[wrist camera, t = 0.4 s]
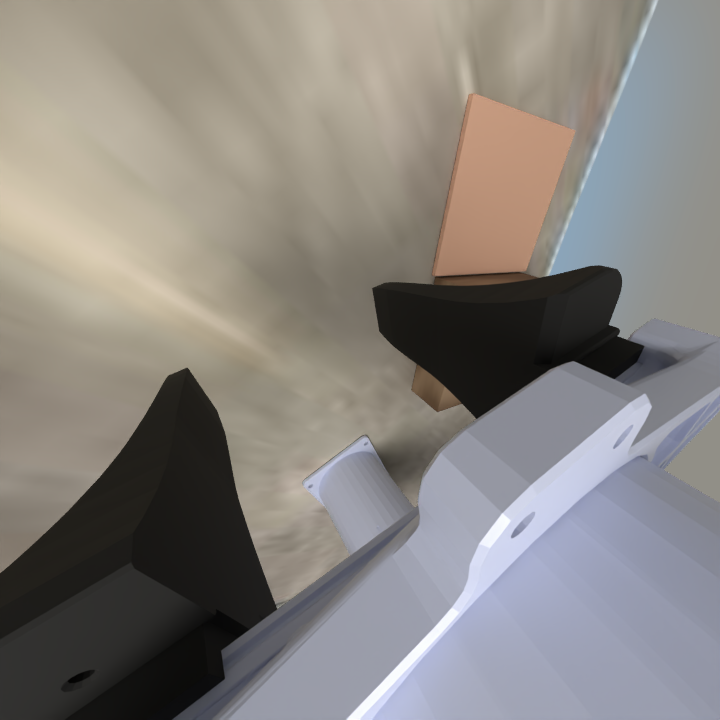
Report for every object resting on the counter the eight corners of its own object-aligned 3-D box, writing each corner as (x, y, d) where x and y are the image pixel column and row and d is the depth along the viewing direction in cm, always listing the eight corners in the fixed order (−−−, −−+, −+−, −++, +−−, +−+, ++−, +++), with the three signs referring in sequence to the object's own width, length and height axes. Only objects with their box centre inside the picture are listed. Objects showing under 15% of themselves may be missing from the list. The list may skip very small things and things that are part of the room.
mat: (522, 270, 32) (525, 271, 32) (431, 274, 26) (435, 276, 26) (570, 131, 26) (575, 130, 26) (469, 94, 20) (473, 93, 20)
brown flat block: (485, 368, 38) (513, 385, 35) (411, 390, 32) (437, 412, 29) (519, 272, 32) (555, 282, 29) (435, 276, 26) (471, 290, 23)
